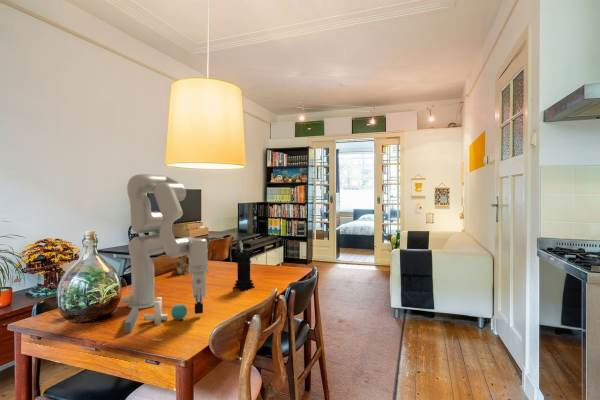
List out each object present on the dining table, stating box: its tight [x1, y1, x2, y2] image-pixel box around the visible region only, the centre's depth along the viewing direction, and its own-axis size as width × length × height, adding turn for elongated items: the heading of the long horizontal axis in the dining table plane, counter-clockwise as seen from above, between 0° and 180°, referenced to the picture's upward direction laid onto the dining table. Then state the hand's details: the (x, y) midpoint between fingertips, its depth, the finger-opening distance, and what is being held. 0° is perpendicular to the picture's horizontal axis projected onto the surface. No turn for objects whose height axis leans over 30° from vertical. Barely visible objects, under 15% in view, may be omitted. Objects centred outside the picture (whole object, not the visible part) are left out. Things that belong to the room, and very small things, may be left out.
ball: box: [170, 303, 188, 321], centre depth 133 cm, size 6×6×6 cm
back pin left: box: [155, 296, 163, 314], centre depth 134 cm, size 2×2×8 cm
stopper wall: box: [123, 306, 139, 334], centre depth 128 cm, size 2×18×4 cm, turn 18°
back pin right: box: [153, 301, 162, 326], centre depth 129 cm, size 2×2×8 cm
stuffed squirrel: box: [171, 255, 190, 276], centre depth 214 cm, size 10×14×13 cm
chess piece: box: [233, 249, 255, 291], centre depth 178 cm, size 8×8×20 cm
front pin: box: [143, 313, 169, 322], centre depth 131 cm, size 2×2×8 cm
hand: (198, 312), depth 136 cm, fingers closed
